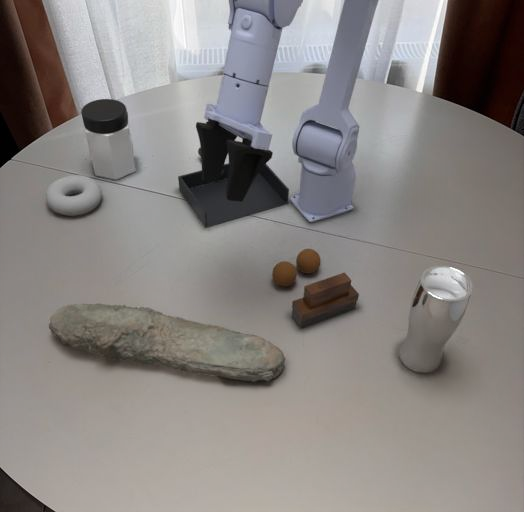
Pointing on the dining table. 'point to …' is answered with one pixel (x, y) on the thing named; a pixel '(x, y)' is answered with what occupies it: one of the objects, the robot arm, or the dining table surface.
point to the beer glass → (434, 316)
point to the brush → (324, 300)
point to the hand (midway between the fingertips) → (221, 190)
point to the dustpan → (220, 208)
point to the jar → (109, 138)
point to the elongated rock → (166, 341)
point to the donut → (73, 204)
